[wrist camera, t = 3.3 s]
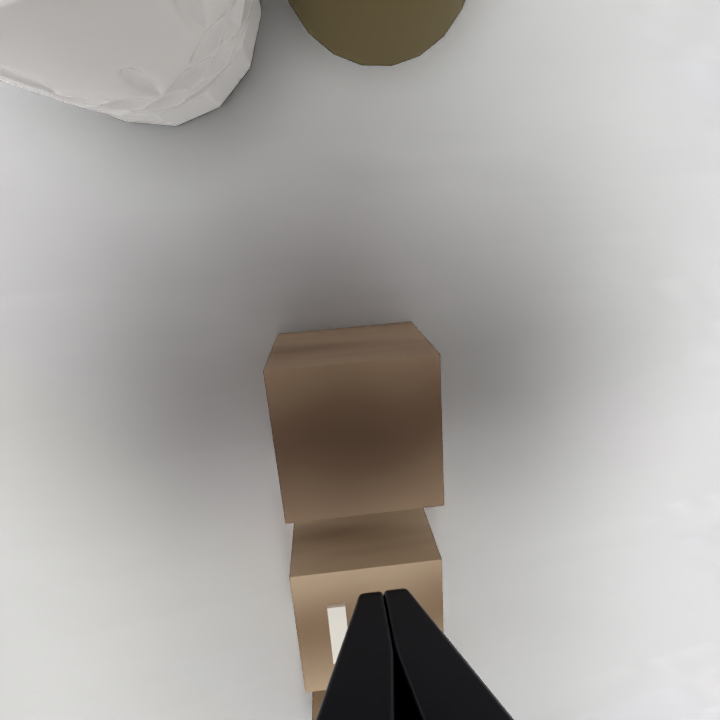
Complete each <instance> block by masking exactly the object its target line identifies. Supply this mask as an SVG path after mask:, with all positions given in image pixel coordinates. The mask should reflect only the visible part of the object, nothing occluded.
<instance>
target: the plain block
mask: <svg viewBox="0 0 720 720" xmlns="http://www.w3.org/2000/svg"><path fill="white" fill-rule="evenodd" d="M263 373H264V380H265V386H266V393H267V400H268V407H269V414H270V421H271V428H272V434H273V441H274V448H275V455H276V462H277V469H278V475H279V482H280V489H281V496H282V503H283V510H284V517H285V523H286V524H287V523H295V522H304V521H313V520H321V519H330V518H339V517H347V516H356V515H364V514H373V513H382V512H390V511H399V510H408V509H416V508H425V507H434V506H442V505H444V482H443V445H442V409H441V372H440V353H439V352H438V351H437V350H436V349H435V348H434V347H433V345H432V344H431V343H430V342H429V341H428V340H427V339H426V338H425V336H424V335H423V334H422V333H421V332H420V331H419V330H418V329H417V327H416V326H415V325H414V324H413V323H412V322H402V323H392V324H381V325H370V326H360V327H349V328H338V329H328V330H317V331H306V332H296V333H285V334H277V337H276V339H275V342H274V345H273V347H272V350H271V352H270V355H269V358H268V360H267V363H266V365H265V368H264V371H263Z"/></svg>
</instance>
